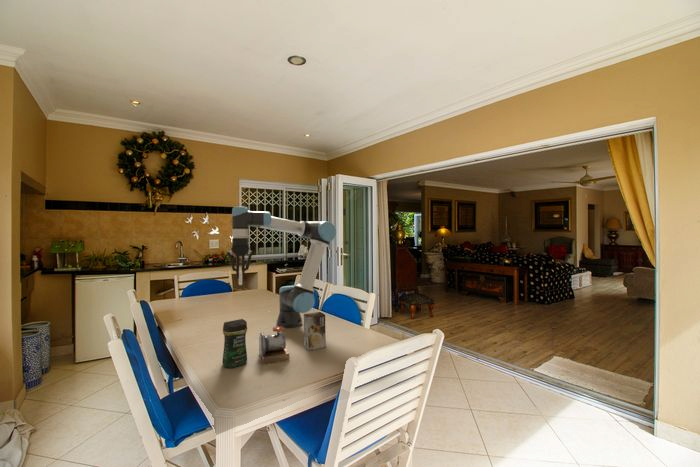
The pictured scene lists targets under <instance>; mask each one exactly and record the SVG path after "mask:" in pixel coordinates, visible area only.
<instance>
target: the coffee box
mask: <svg viewBox="0 0 700 467" xmlns="http://www.w3.org/2000/svg"><path fill="white" fill-rule="evenodd" d="M326 334H327V333H326V314H325V313H323V312H321V311H316V312H310V313H308V312H307V313H303V347H304V348H306V349H307V351H312V350H317V349H318V350H319V349H322V348H326V347H327V343H326V339H327V338H326V337H327V336H326Z"/></svg>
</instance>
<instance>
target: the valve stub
mask: <svg viewBox="0 0 700 467" xmlns="http://www.w3.org/2000/svg"><path fill="white" fill-rule="evenodd" d="M284 330H285V328H284V327H282V326H277V325H276V326H274V327H272V332H275V333H276V334H268V335H265V333H264V332H260V333H259V336H258V354H259V357H260V359H261V362H262V364H263V365H269V364H273V363H274V364H275V363H280V362H286V361H287V362H288V361H290V352H289V350H288V349H287V347H286V345H287V343H286V342H287V340H286V335H285V333H284V332H283V331H284ZM281 332H282V333H281Z"/></svg>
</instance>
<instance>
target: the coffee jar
mask: <svg viewBox="0 0 700 467" xmlns="http://www.w3.org/2000/svg"><path fill="white" fill-rule="evenodd" d="M247 325H248V323H247V321H246V320H245V319H244V318H239V319H235V320H229V321H224V323H223V327H222V333H223V336H224V342H223V343H224V344H223V352H222V365H223V366H224V367H225V368H229V369H230V368H235V367H239V366H243V365H245V364H246V363H247V362H248V354H247V353H248V352H247V344H246V343H247V342H246V336H247V335H246V334H247V332H248V326H247Z"/></svg>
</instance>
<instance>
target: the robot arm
mask: <svg viewBox="0 0 700 467" xmlns="http://www.w3.org/2000/svg"><path fill="white" fill-rule="evenodd" d="M231 222H232V223H231V224H232V225H231V228H232V231H231V232H232V233H231V235H232V236H231V237H232V238H231V243H232V246H231V248H230V250H229V251H226V255H227V256H228V257H229V262H230V266H231V269H232V271H233V272H235V273H236V274H235V278H236V279H238V285H239V286H243V279H244V278H245V275H246V271H248V270H249V267H250V264H251V261H252V260H251V259H252V256H253V254H254V251H253V250H251V249H250V248H249V238H248V237H249V227H253V228H254V227H255V228H260V229H266V230H271V231H277V232H282V233H283V232H284V233H287V234H294V235H297V236H298V237H301V238H306V239H309V241H310V242H309V243H310V247H309V249H308V252H307V255H306V259H305V261H304V265H303V268H302V271H301V274H300V277H299V280H298V282H297V283H296V284H294V285H293V284H292V285H286V286H285V285H284V286H281V287H280V288H279V292H278V293H279V312H278V316H277V318H276V327H277V326H282V327H284V329H286V328H287V329H290V328H297V327H300V326H301V325H303V318H302V315H301V314H307V313H308V312H310V311H311V310H312V309H313V308H314V306H315V301H316V300H315V296H314V294H315V289H314V285H315V281H316V279H317V275H318V271H319V268H320V266H321V263H322V259H323V256H324V253H325V250H326V248H328V247H329V245H330V244H331V241H333V240H334V239H335V238H336V236H337V228H336V226H335V225H334V224H333V223H332V222H331V221H329V220H328V221H327V220H322V221H321V220H320V221H319V220H317V221H316V220H313V221H306V220H305V221H304V220H301V221H296V220H292V219H291V220H290V219H286V218H281V217H276V216H272V214H271V212H270V211H259V210H256V211H255V210H253V211H252V210H249V208H248V207H247V206H233V207H232V210H231ZM247 253H248V255H247ZM233 254H234V256H235V264H234V258H233ZM246 255H247V260H245V256H246ZM240 259H241V270H240ZM245 261H246V262H245ZM235 266H236V267H235Z"/></svg>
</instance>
